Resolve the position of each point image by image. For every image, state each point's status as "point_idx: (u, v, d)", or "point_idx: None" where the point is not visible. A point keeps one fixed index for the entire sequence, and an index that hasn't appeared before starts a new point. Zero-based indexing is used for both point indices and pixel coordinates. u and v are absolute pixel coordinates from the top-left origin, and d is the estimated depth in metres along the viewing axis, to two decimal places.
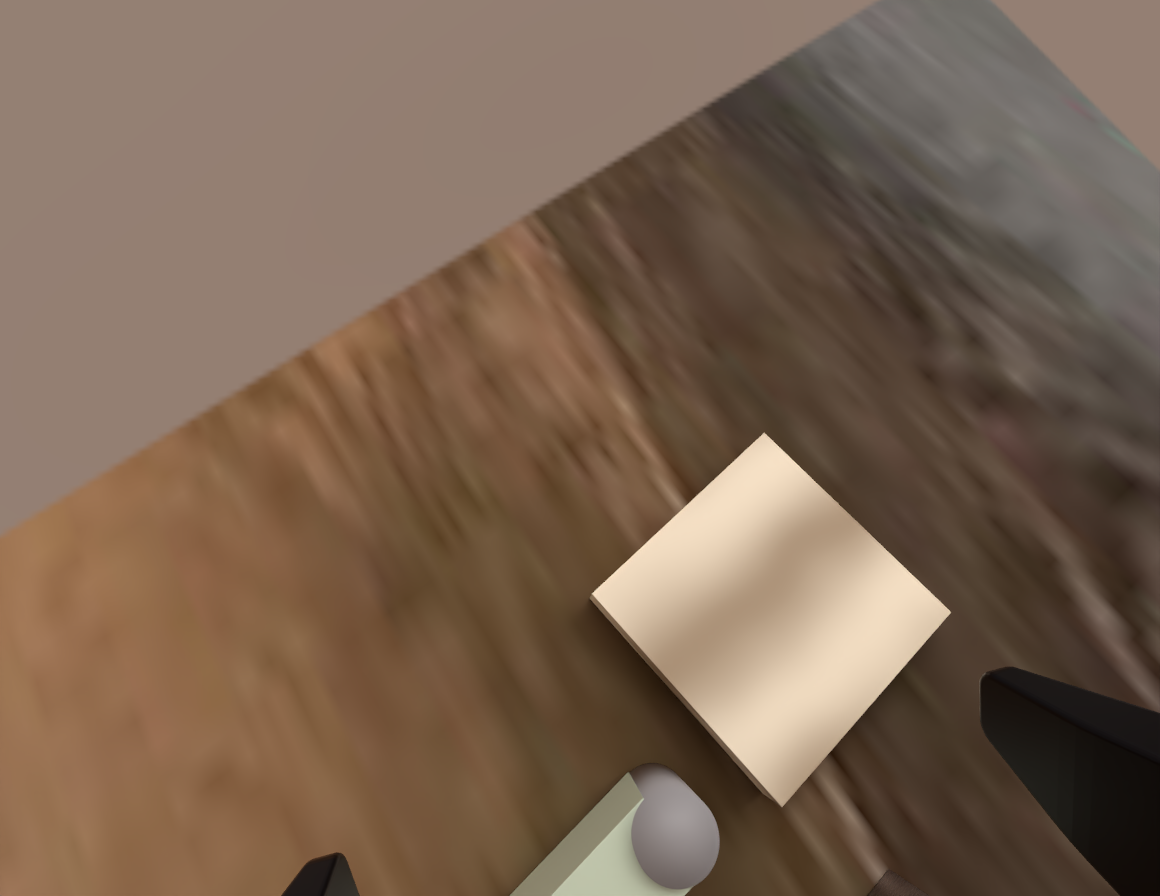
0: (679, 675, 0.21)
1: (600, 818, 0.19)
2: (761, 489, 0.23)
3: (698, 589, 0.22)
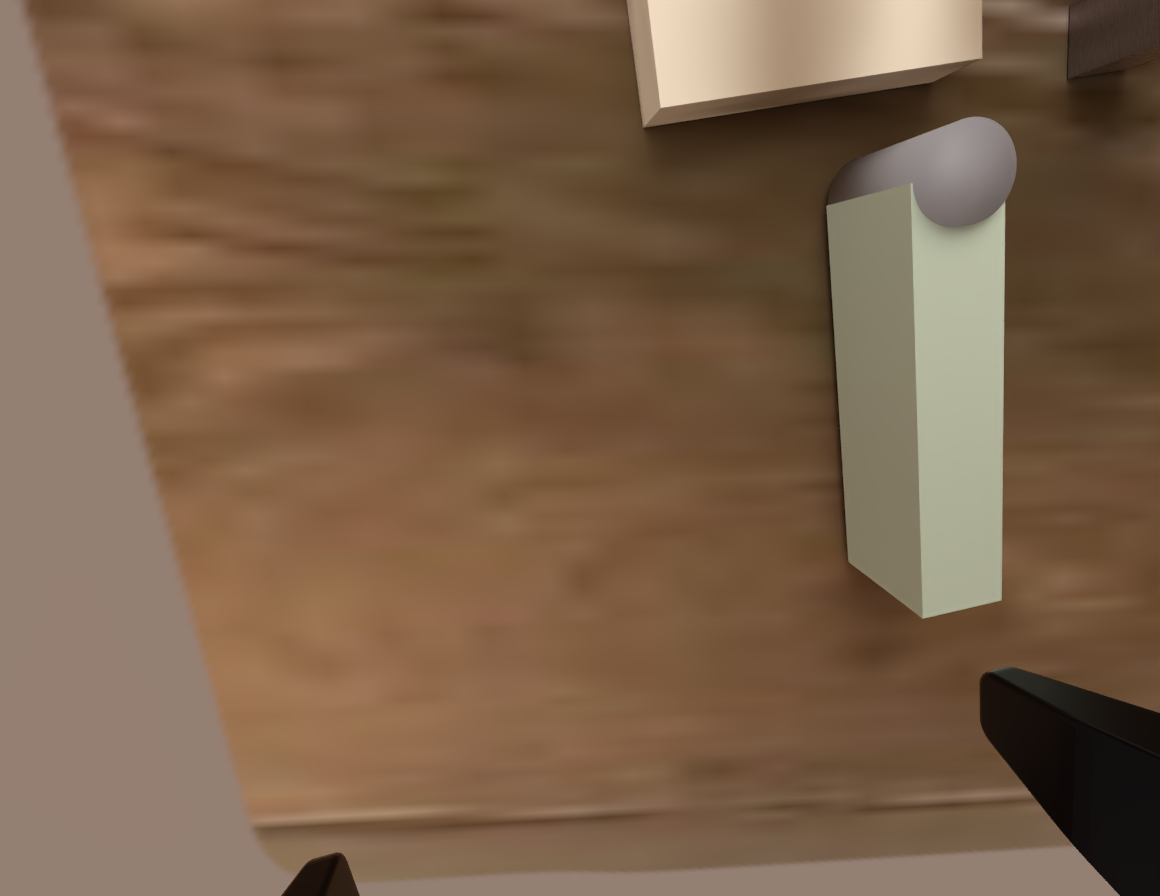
0: (805, 69, 0.16)
1: (863, 251, 0.17)
2: None
3: None
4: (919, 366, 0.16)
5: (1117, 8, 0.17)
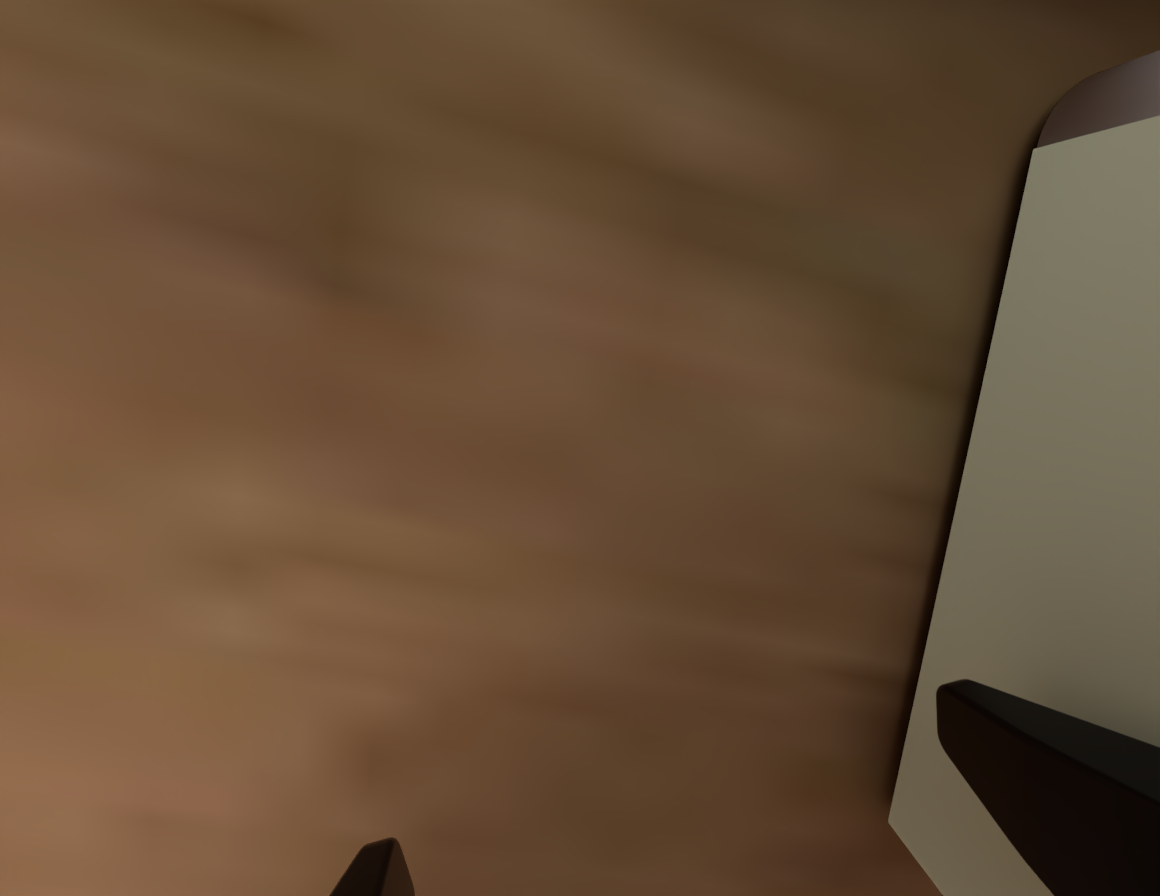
0: None
1: (1133, 243, 0.08)
2: None
3: None
4: None
5: None
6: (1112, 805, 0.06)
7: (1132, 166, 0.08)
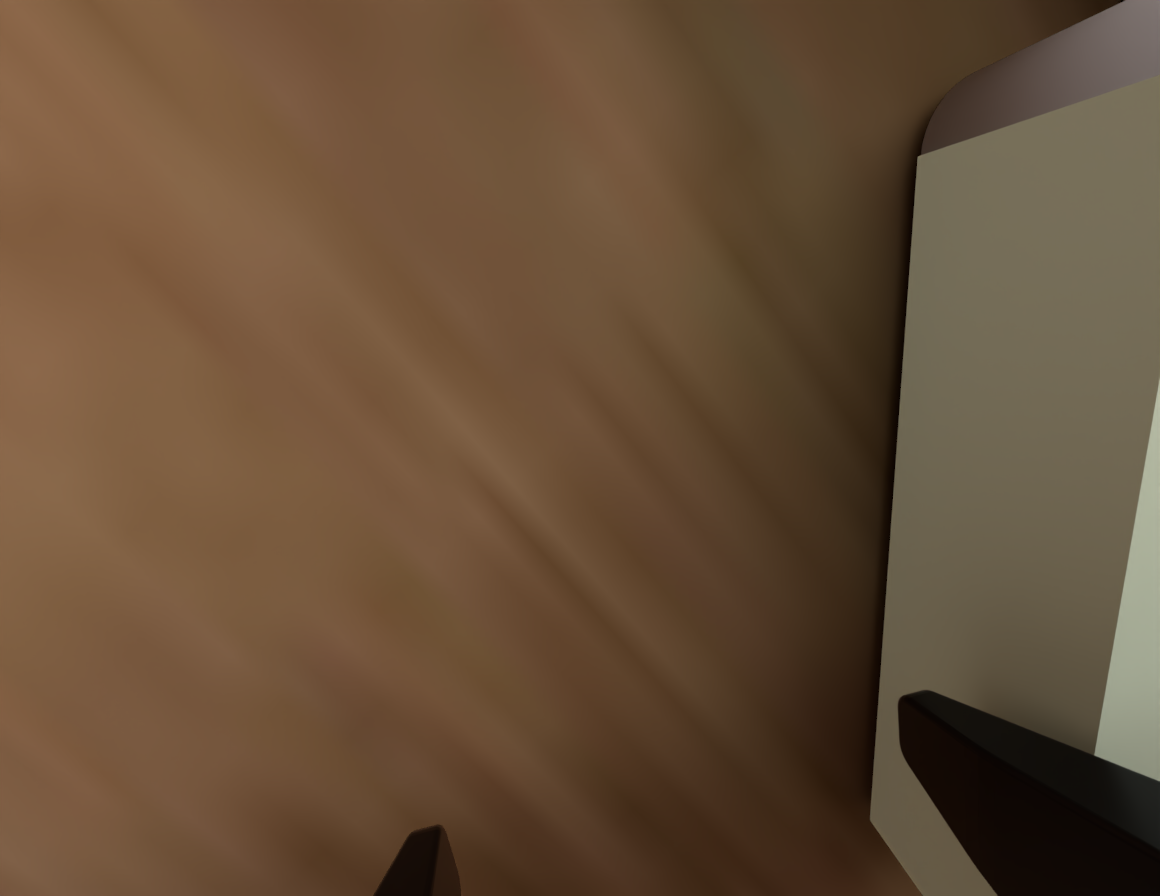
0: None
1: (1006, 251, 0.08)
2: None
3: None
4: (1140, 543, 0.06)
5: None
6: (1061, 821, 0.06)
7: (997, 174, 0.08)
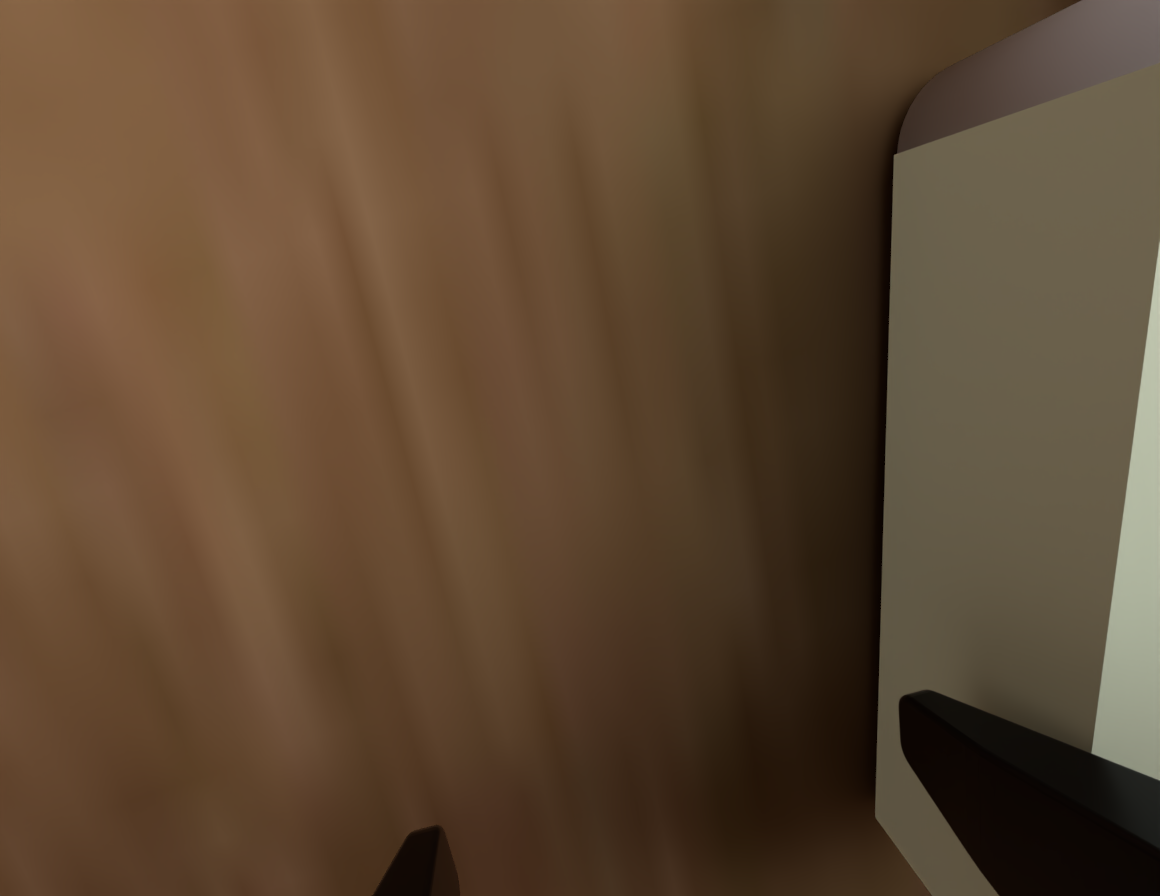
0: None
1: (984, 251, 0.08)
2: None
3: None
4: (1128, 544, 0.06)
5: None
6: (1062, 821, 0.06)
7: (973, 173, 0.08)
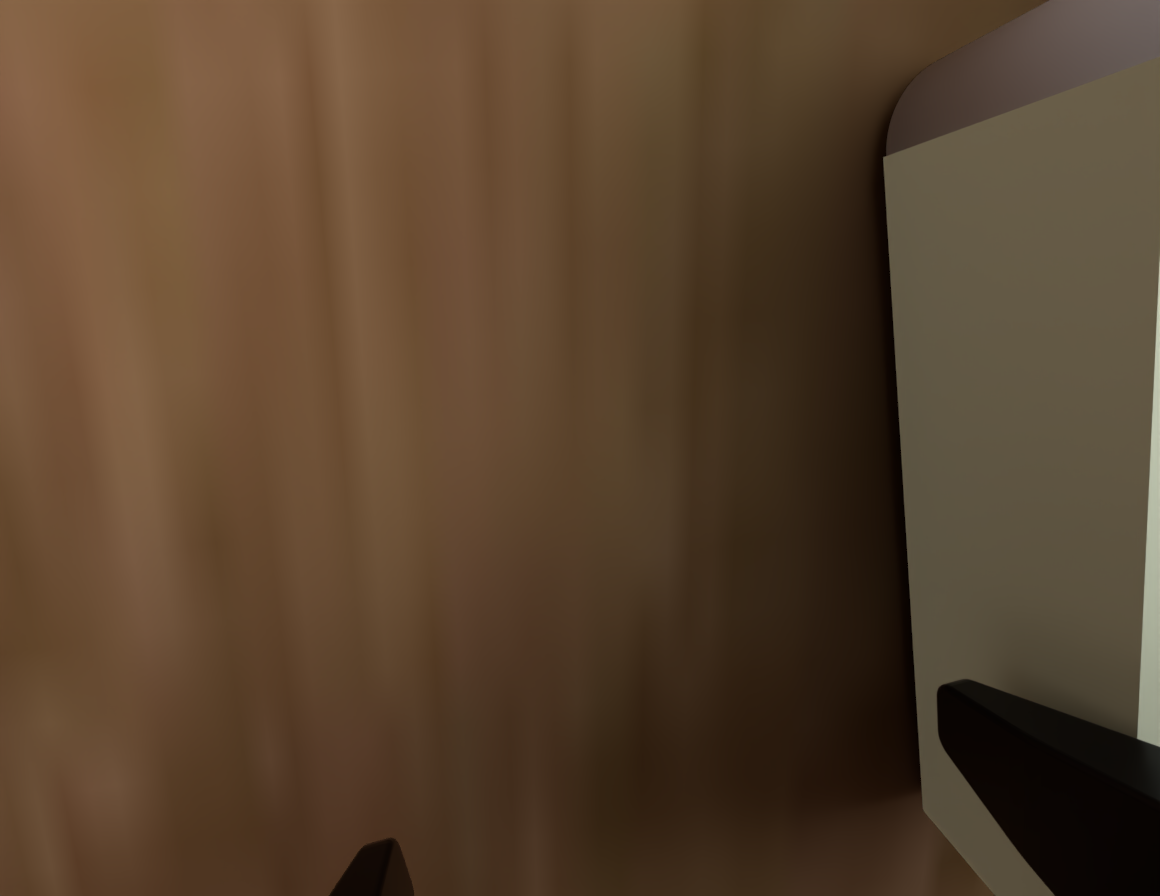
0: None
1: (983, 250, 0.08)
2: None
3: None
4: (1155, 537, 0.06)
5: None
6: (1113, 805, 0.06)
7: (965, 174, 0.08)
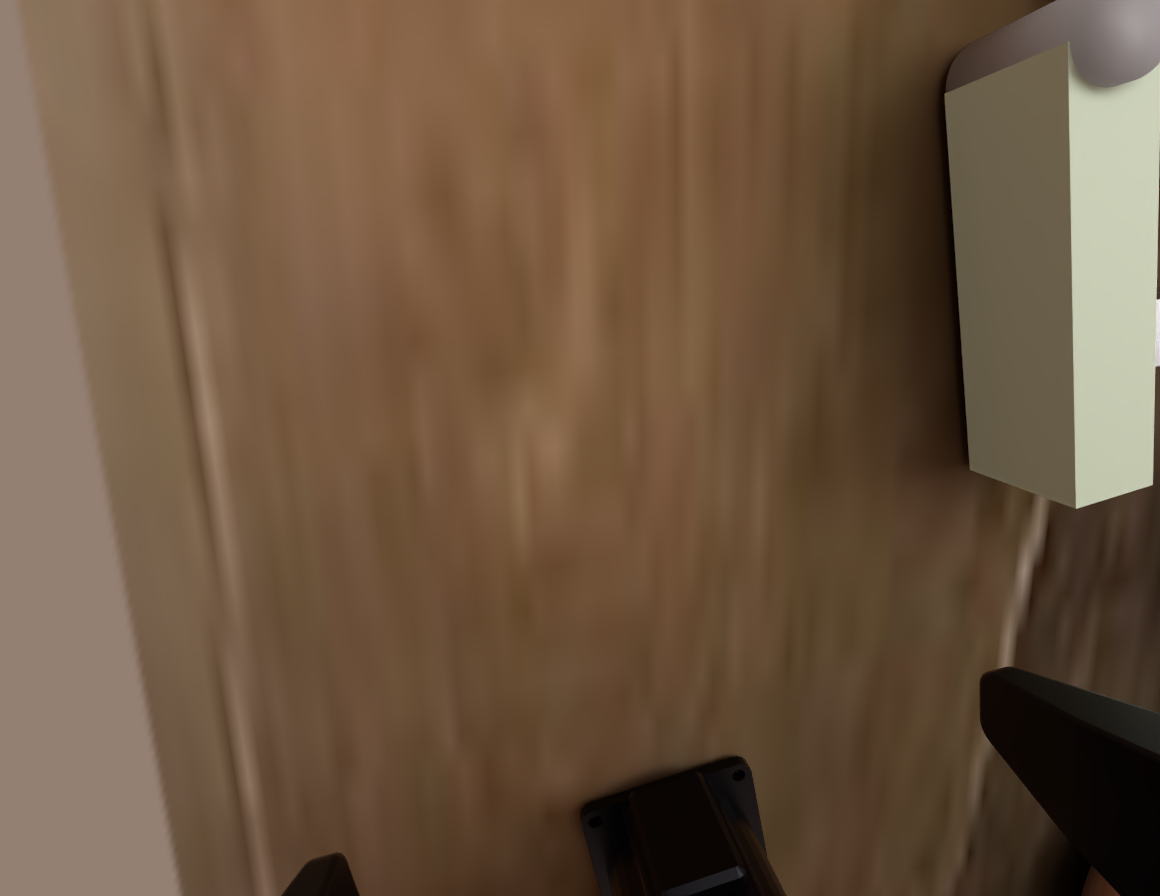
0: None
1: (998, 131, 0.17)
2: None
3: None
4: (1075, 240, 0.16)
5: None
6: None
7: (988, 97, 0.17)
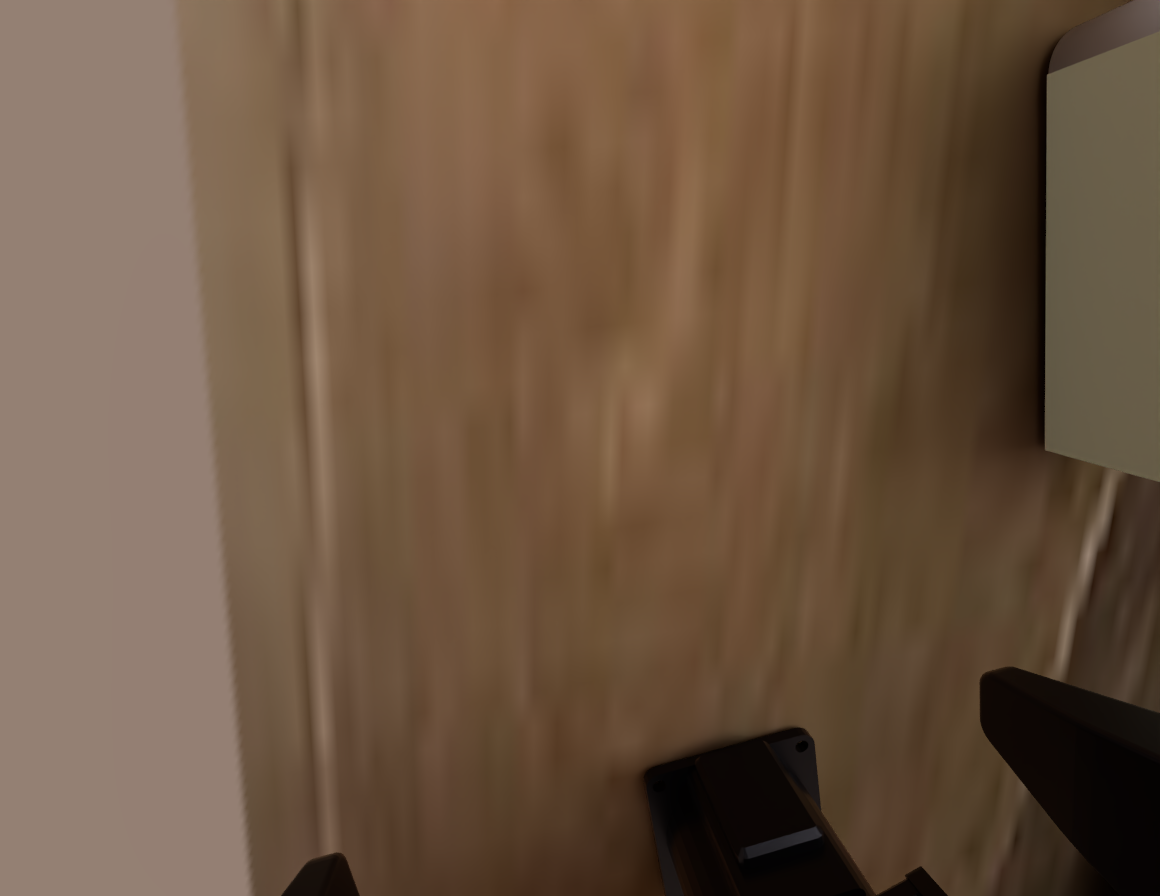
0: None
1: (1106, 110, 0.17)
2: None
3: None
4: None
5: None
6: None
7: (1097, 76, 0.17)
